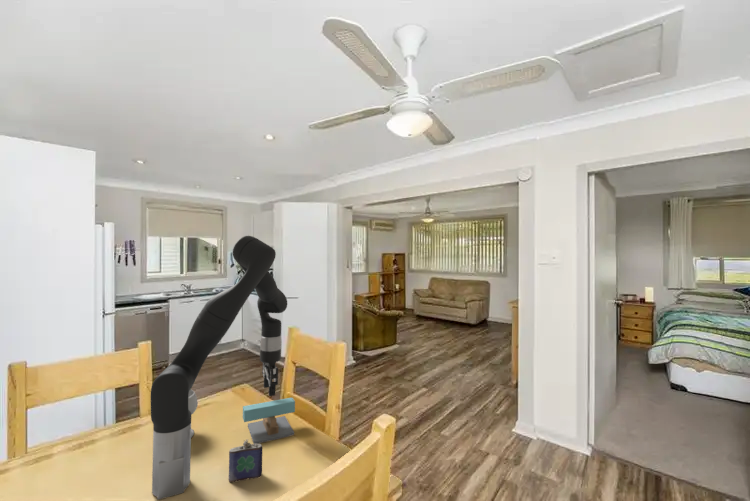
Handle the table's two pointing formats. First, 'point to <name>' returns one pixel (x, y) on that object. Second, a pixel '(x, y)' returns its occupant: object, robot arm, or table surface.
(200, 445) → the table surface
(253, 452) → the flask
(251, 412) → the batten
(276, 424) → the fulcrum
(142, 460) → the table surface
